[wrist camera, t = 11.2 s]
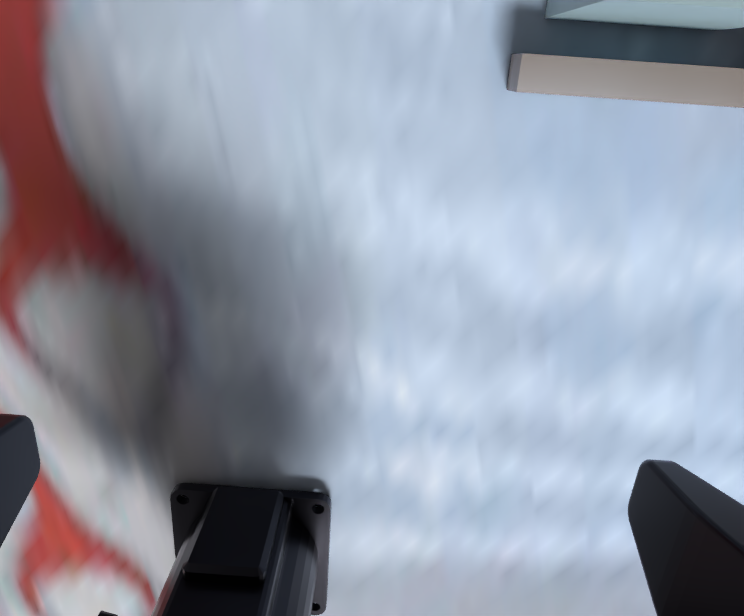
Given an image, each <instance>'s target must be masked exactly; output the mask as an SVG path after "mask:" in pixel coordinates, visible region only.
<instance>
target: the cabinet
mask: <svg viewBox="0 0 744 616" xmlns="http://www.w3.org/2000/svg"><path fill="white" fill-rule="evenodd" d="M545 18H548V19H562V20H576V21H590V22H604V23H619V24H633V25H647V26H661V27H675V28H689V29H703V30H723V29H733V28H743V27H744V0H547V6H546V12H545Z"/></svg>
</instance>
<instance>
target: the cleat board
mask: <svg viewBox="0 0 744 616" xmlns="http://www.w3.org/2000/svg"><path fill="white" fill-rule="evenodd" d="M507 90H510V91H514V92H524V93H539V94H553V95H567V96H582V97H596V98H610V99H625V100H639V101H653V102H668V103H682V104H696V105H711V106H725V107H739V108H744V69H742V68H728V67H713V66H699V65H685V64H670V63H656V62H641V61H627V60H613V59H598V58H584V57H570V56H555V55H541V54H526V53H519V54H512V57H511V64H510V71H509V78H508V85H507Z"/></svg>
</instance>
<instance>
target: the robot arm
mask: <svg viewBox="0 0 744 616" xmlns="http://www.w3.org/2000/svg"><path fill="white" fill-rule="evenodd" d="M39 470H40V458H39V453H38V447H37V442H36V437H35V432H34V427H33V423H32V421H31V420H30V418H28V417H27V416H25V415H13V414H0V547H1V545H2V543H3V541H4V540H5V538H6V536H7V534H8V532H9V530H10V528H11V526H12V525H13V523H14V521H15V519H16V517H17V515H18V513H19V511H20V509H21V508H22V506H23V504H24V502H25V500H26V498H27V496H28V494H29V492H30V491H31V489H32V487H33V485H34V483H35V481H36V479H37V477H38V474H39ZM182 494H183V495H186V496H187V497H188V498H185V497H183V496H181V495H182ZM170 500H171V511H172V522H173V534H174V545H175V556H176V560H175V562H174V564H173V567H172V569H171V571H170V574H169V576H168V578H167V581H166V583H165V585H164V587H163V590H162V592H161V594H160V597H159V599H158V601H157V604H156V606H155V608H154V610H153V613H152V615H151V616H311V615H319V614H322V613H323V612H324V611H325V609H326V603H327V585H328V564H329V543H330V521H331V499H330V498H329V497H328V496H327V495H325V494H323V493H317V492H303V491H289V490H276V489H262V488H248V487H234V486H220V485H206V484H192V483H180V484H178V485H177V486H176V487H175V488H174V490H173V492H172V494H171V498H170ZM316 504H319V505H322V506H323V507H316V506H315V505H316ZM628 517H629V522H630V525H631V529H632V532H633V536H634V539H635V542H636V546H637V549H638V553H639V556H640V560H641V563H642V566H643V570H644V573H645V577H646V580H647V584H648V587H649V590H650V594H651V597H652V601H653V604H654V607H655V610H656V613H657V616H744V505H742V504H741V503H739V502H737V501H736V500H734V499H733V498H731V497H729V496H728V495H726V494H725V493H723V492H721V491H720V490H718V489H717V488H715V487H714V486H712V485H710V484H709V483H707V482H706V481H704V480H702V479H701V478H699V477H698V476H696V475H694V474H693V473H691V472H690V471H688V470H687V469H685V468H683V467H682V466H680V465H679V464H677V463H675V462H672V461H663V460H646V461H644V462H642V464H641V465H640V467H639V470H638V473H637V477H636V480H635V483H634V487H633V490H632V493H631V497H630V500H629V504H628ZM98 616H118V615H115V614H112V613H108V612H104V611H101V612H100V613H99V615H98Z"/></svg>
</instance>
